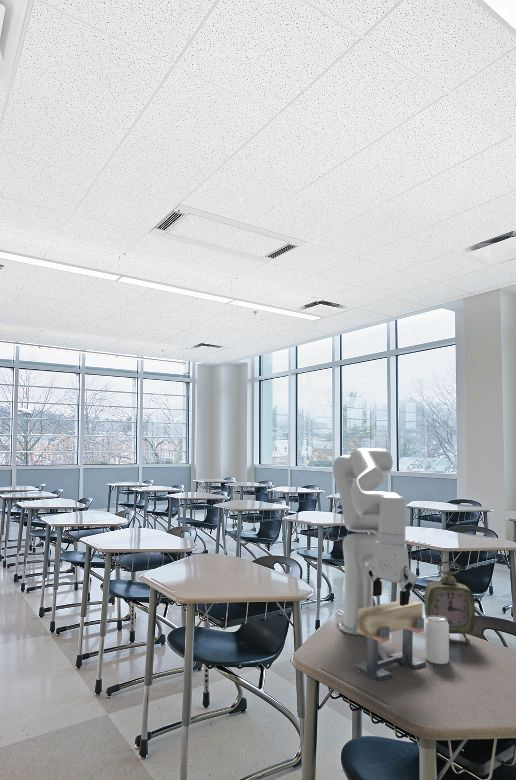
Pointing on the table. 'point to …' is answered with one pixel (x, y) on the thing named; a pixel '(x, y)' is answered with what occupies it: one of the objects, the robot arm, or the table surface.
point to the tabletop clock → (451, 603)
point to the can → (437, 640)
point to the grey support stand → (404, 657)
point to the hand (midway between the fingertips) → (390, 600)
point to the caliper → (381, 652)
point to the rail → (388, 617)
